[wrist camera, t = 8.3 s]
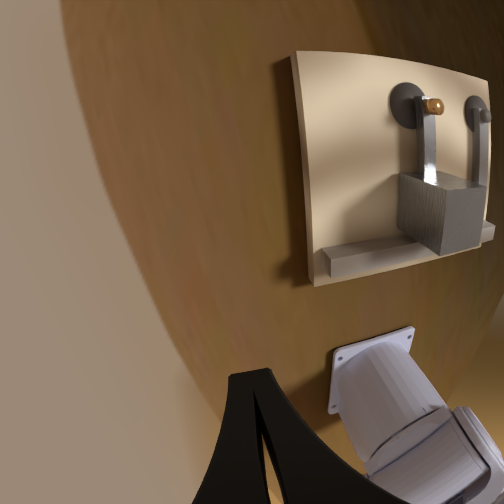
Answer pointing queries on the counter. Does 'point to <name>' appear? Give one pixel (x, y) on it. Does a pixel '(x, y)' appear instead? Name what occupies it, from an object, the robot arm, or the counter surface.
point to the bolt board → (377, 154)
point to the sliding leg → (438, 194)
